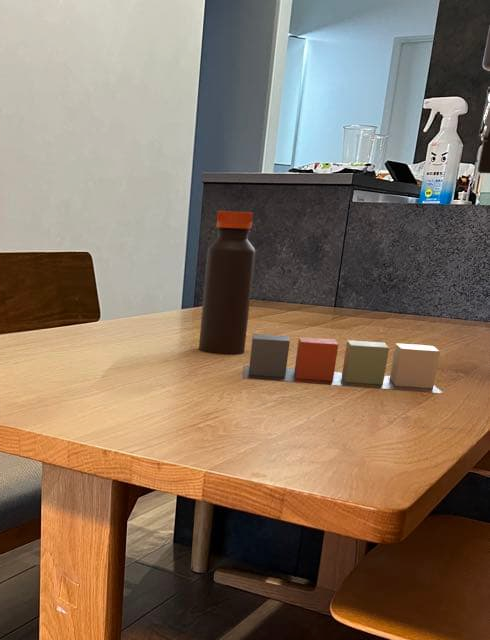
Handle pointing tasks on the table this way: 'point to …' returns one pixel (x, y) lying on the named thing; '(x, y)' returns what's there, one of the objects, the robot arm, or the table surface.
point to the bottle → (227, 286)
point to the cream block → (414, 365)
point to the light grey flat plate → (338, 382)
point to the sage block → (365, 362)
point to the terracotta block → (316, 359)
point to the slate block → (269, 355)
